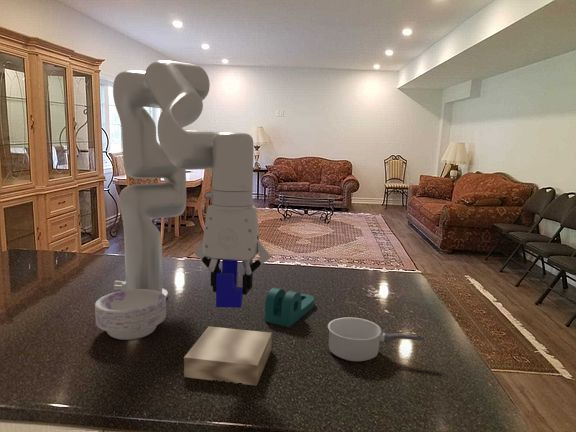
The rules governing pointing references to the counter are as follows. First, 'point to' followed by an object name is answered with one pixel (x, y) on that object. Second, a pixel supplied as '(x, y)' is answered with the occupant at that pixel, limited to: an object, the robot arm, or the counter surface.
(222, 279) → the blue stepped block
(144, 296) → the paper bowls
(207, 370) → the plate
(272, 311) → the bracket
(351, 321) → the saucepan
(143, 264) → the robot arm
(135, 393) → the counter surface
